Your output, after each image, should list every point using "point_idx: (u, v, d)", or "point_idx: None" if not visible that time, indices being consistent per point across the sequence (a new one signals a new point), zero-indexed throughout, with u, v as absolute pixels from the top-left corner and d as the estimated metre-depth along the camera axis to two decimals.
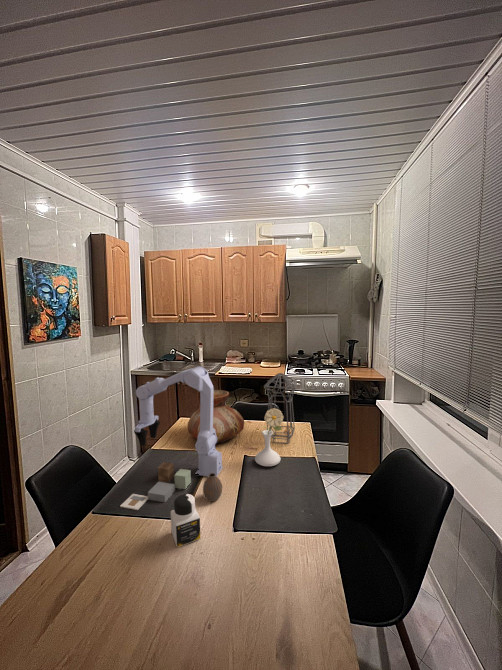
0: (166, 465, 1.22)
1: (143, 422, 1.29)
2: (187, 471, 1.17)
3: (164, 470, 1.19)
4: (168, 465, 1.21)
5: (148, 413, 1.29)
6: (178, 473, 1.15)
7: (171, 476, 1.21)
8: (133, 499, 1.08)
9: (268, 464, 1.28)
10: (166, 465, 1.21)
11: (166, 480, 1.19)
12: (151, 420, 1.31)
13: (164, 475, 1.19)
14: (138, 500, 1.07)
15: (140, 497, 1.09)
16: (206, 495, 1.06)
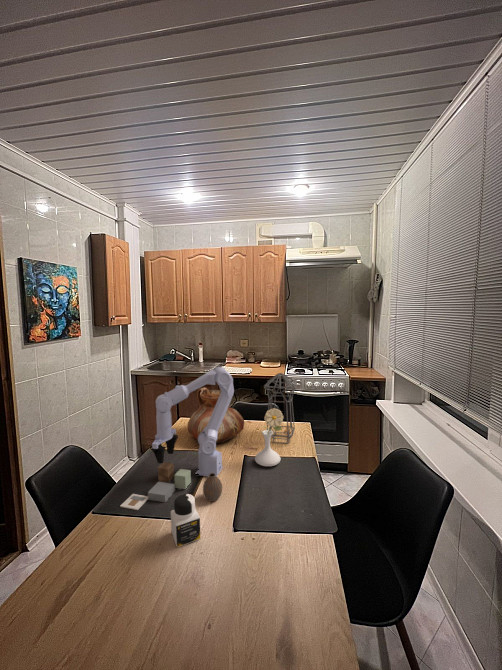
0: (166, 465, 1.22)
1: (160, 437, 1.17)
2: (187, 471, 1.17)
3: (164, 470, 1.19)
4: (168, 465, 1.21)
5: (166, 427, 1.17)
6: (178, 473, 1.15)
7: (171, 476, 1.21)
8: (133, 499, 1.08)
9: (268, 464, 1.28)
10: (166, 465, 1.21)
11: (166, 480, 1.19)
12: (169, 435, 1.18)
13: (164, 475, 1.19)
14: (138, 500, 1.07)
15: (140, 497, 1.09)
16: (206, 495, 1.06)
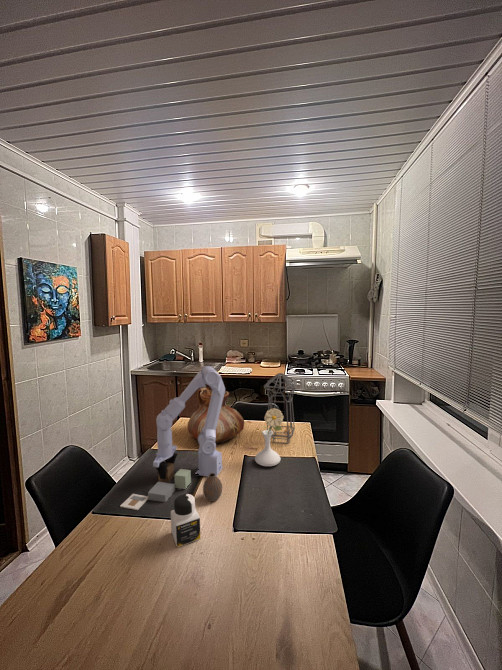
0: None
1: (161, 455, 1.18)
2: (187, 471, 1.17)
3: None
4: (168, 465, 1.21)
5: (167, 445, 1.18)
6: (178, 473, 1.15)
7: (171, 476, 1.21)
8: (133, 499, 1.08)
9: (268, 464, 1.28)
10: None
11: (166, 480, 1.19)
12: (170, 453, 1.19)
13: None
14: (138, 500, 1.07)
15: (140, 497, 1.09)
16: (206, 495, 1.06)
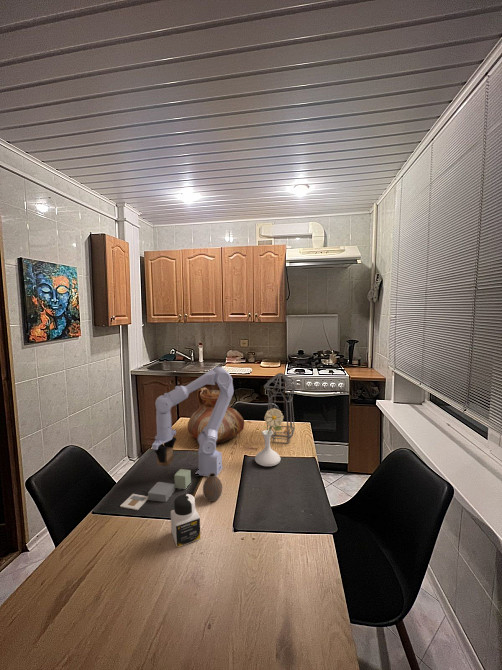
0: None
1: (160, 438, 1.17)
2: (187, 471, 1.17)
3: None
4: (167, 449, 1.21)
5: (166, 428, 1.17)
6: (178, 473, 1.15)
7: (170, 460, 1.20)
8: (133, 499, 1.08)
9: (268, 464, 1.28)
10: None
11: (165, 464, 1.18)
12: (169, 436, 1.18)
13: None
14: (138, 500, 1.07)
15: (140, 497, 1.09)
16: (206, 495, 1.06)
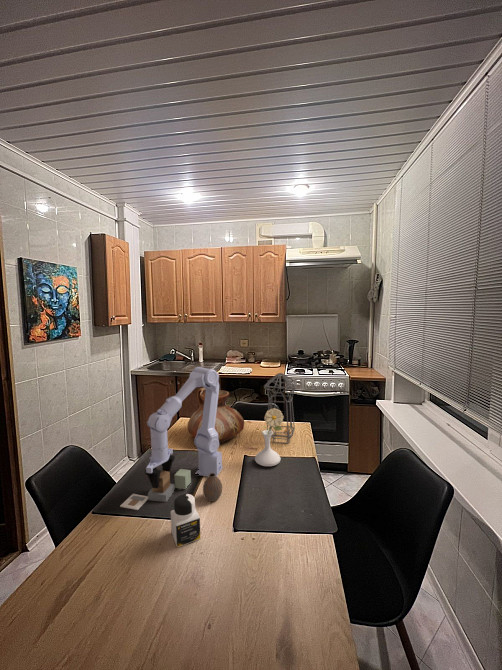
0: (161, 473, 1.11)
1: (155, 460, 1.07)
2: (187, 471, 1.17)
3: None
4: (163, 473, 1.10)
5: (162, 449, 1.07)
6: (178, 473, 1.15)
7: (166, 485, 1.10)
8: (133, 499, 1.08)
9: (268, 464, 1.28)
10: (161, 473, 1.10)
11: (161, 490, 1.08)
12: (165, 457, 1.08)
13: None
14: (138, 500, 1.07)
15: (140, 497, 1.09)
16: (206, 495, 1.06)
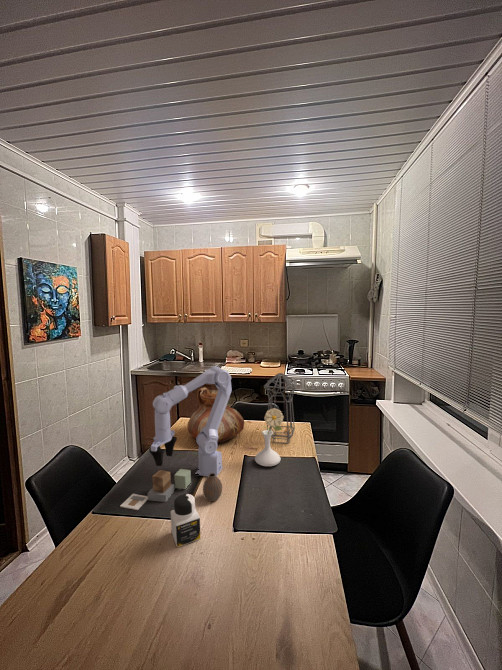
0: (162, 473, 1.11)
1: (159, 439, 1.14)
2: (187, 471, 1.17)
3: (159, 479, 1.08)
4: (164, 473, 1.10)
5: (165, 429, 1.14)
6: (178, 473, 1.15)
7: (167, 486, 1.10)
8: (133, 499, 1.08)
9: (268, 464, 1.28)
10: (162, 473, 1.10)
11: (161, 490, 1.08)
12: (168, 437, 1.15)
13: (158, 484, 1.08)
14: (138, 500, 1.07)
15: (140, 497, 1.09)
16: (206, 495, 1.06)
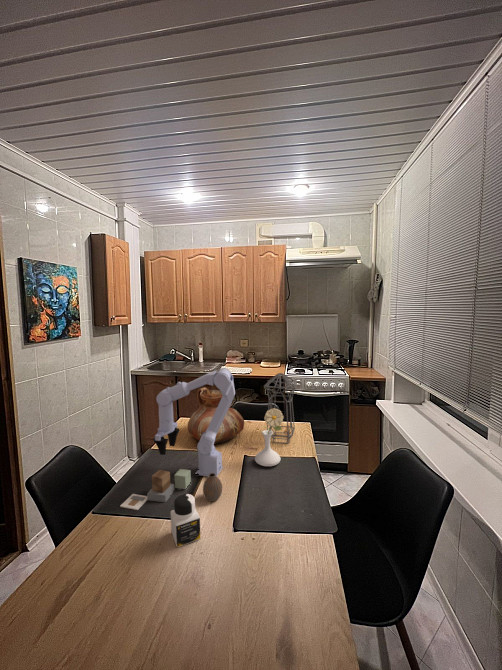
0: (161, 473, 1.11)
1: (163, 430, 1.23)
2: (187, 471, 1.17)
3: (158, 479, 1.08)
4: (163, 473, 1.10)
5: (168, 420, 1.23)
6: (178, 473, 1.15)
7: (166, 486, 1.10)
8: (133, 499, 1.08)
9: (268, 464, 1.28)
10: (161, 473, 1.10)
11: (160, 490, 1.08)
12: (171, 428, 1.24)
13: (158, 484, 1.08)
14: (138, 500, 1.07)
15: (140, 497, 1.09)
16: (206, 495, 1.06)
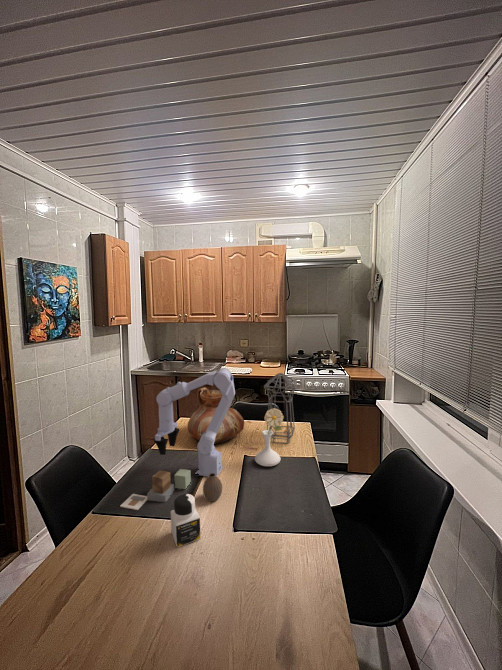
0: (162, 473, 1.10)
1: (163, 430, 1.23)
2: (187, 471, 1.17)
3: (158, 480, 1.08)
4: (164, 474, 1.10)
5: (168, 420, 1.23)
6: (178, 473, 1.15)
7: (166, 486, 1.10)
8: (133, 499, 1.08)
9: (268, 464, 1.28)
10: (162, 474, 1.10)
11: (160, 490, 1.08)
12: (171, 428, 1.24)
13: (158, 485, 1.08)
14: (138, 500, 1.07)
15: (140, 497, 1.09)
16: (206, 495, 1.06)
